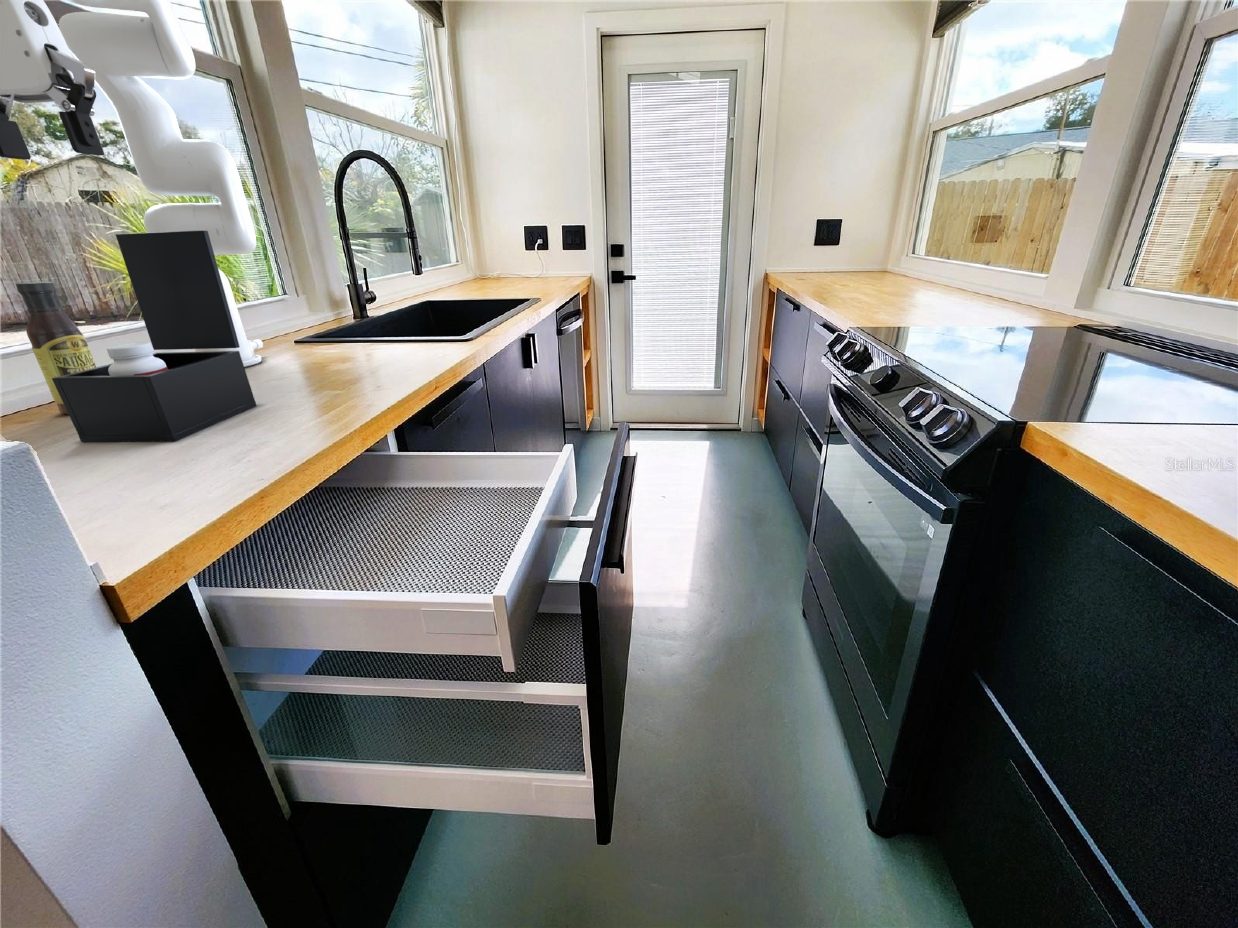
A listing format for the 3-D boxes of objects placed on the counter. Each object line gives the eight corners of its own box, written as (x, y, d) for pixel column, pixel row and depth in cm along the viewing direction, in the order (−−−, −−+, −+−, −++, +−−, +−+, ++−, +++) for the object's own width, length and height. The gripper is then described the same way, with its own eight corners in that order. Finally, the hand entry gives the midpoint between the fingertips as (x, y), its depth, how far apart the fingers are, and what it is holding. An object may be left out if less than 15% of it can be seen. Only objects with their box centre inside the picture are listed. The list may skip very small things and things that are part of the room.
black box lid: (203, 230, 76) (231, 232, 81) (114, 234, 77) (147, 236, 82) (236, 348, 82) (260, 343, 87) (153, 350, 83) (181, 345, 88)
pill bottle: (192, 413, 80) (164, 339, 76) (177, 425, 75) (146, 346, 71) (142, 419, 79) (111, 343, 74) (123, 432, 73) (88, 351, 69)
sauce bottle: (80, 416, 84) (19, 284, 76) (50, 415, 85) (-13, 284, 77) (123, 404, 90) (71, 280, 82) (94, 403, 91) (40, 280, 83)
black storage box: (175, 441, 72) (149, 376, 68) (81, 442, 73) (51, 378, 69) (256, 405, 86) (239, 350, 82) (177, 406, 87) (156, 352, 84)
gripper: (87, -21, 59) (147, 156, 66) (-52, -8, 61) (21, 163, 68) (11, -53, 52) (87, 148, 59) (-143, -39, 54) (-51, 156, 61)
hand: (52, 156), depth 63 cm, fingers open, 9 cm apart
